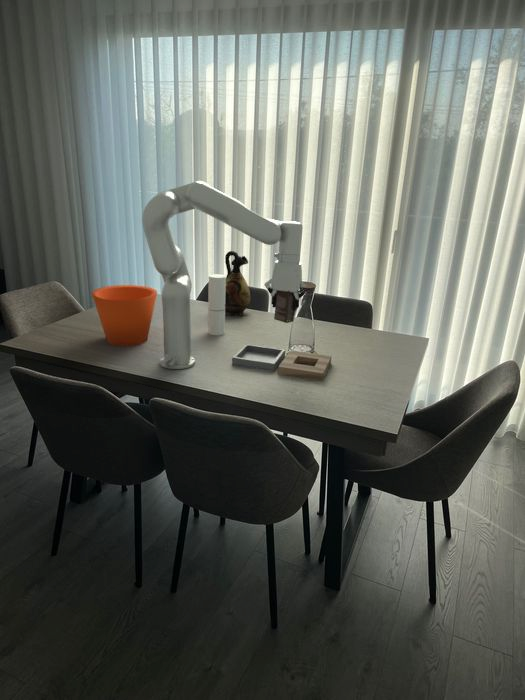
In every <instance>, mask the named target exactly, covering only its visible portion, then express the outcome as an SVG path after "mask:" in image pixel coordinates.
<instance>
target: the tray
mask: <svg viewBox="0 0 525 700" xmlns="http://www.w3.org/2000/svg"><path fill="white" fill-rule="evenodd" d="M285 357H286V349H283V348H276V347H269V346H264V345H263V346H261V345H255V344H248V343H246V344H244V346H242V347H241V348H240V349H239V350H238V351H237V352H236V353H235V354H234V355H233V356H232V357H231V365H232V366H236V367H241V368H242V367H243V368H248V369H255V370H263V371H266V372H267V371H269V372H275V371H276V369H278V366H279V365H280V364H281V362H282V361H283V360H284V358H285Z"/></svg>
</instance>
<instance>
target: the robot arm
mask: <svg viewBox="0 0 525 700" xmlns="http://www.w3.org/2000/svg"><path fill="white" fill-rule="evenodd" d="M195 209H196V210H198V211H199V212H202V213H203V214H206V215H207V216H209V217H211V218H214V219H216V220H218V221H220V222H222V223H223V224H225V225H227V226H228V227H231V228H232V229H235V230H237V231H239V232H241V233H242V234H244V235H247V236H248V237H251V238H253V239H254V240H256V241H258V242H260V243H263V244H264V245H268V246H272V245H275V244H277V243H278V244H279V245H278V252H277V253H276V252H275V253H274V255H273V256H274V258H276V259H277V260H275V263H274V265H273V270H272V276H271V278H270V279H269V280H268V281H265V283H264V287H265V289H267V292H268V293H269V294H270V296H271V305H272V308H275V304H276V292H277V291H284V292H288V291H290V292H292V293H294V295H295V299H294V306H293V310H294V311H296V310H297V309H299V308H300V307H299V306H300V298H303V296H305V295H306V294H307V293H308V292H305V293H301V292H300V290H301V289H300V286H301V288H302V287H306V286H307V285H306V284H305V283H304V282H303V270H302V269H303V267H302V263H301V262H300V259H301V250H302V237H303V228H304V227H303V224H302V222H298V221H292V220H291V221H290V220H289V221H288V220H285V221H282V220H281V221H280V220H276V219H273V218H272V219H271V218H266V217H263V216H262V215H260V214H259V213H257V212H255V211H253V210H252V209H249V208H248V207H246V205H244V203H242V202H241V201H239V200H237V199H236V198H234V197H233V196H230V195H228V194H226V193H223V192H222V191H220V190H218V189H216V188H214V187H212V186H210V185H209V184H208V183H207V182H205V181H203V180H196V181H193V182H191V183H188V184H187V183H186V184H185V185H181V186H178V187H174V188H171V189H168V190H164V191H162V192H159V193H157V194H156V195H154V196H153V197H152V198H151V199H150V200H149V201H148V202H147V203H146V205H145V207H144V209H143V212H142V214H141V215H142V217H141V223H142V229H143V233H144V236H145V239H146V243H147V245H148V249H149V252H150V255H151V259H152V262H153V267H155V270H156V271H157V272H158V273H159V274H160V275H161V276H162V280H163V283H164V284H163V287H162V290H161V302H162V303H161V305H162V319H163V320H162V322H163V357H161V358H160V359H159V365H160V366H161V367H163V368H166V369H171V370H183V369H184V370H185V369H189V368H192V367H193V366H194V365H195V364H196V359H195V358H194V357H193V356H191V352H192V350H191V349H192V348H191V347H192V346H191V345H192V344H191V339H192V338H191V335H192V334H191V331H192V330H191V329H192V328H191V324H192V323H191V293H192V287H193V286H192V279H191V276H190V274H189V270H188V266H187V263H186V260H185V258H184V255H183V252H182V250H181V248H179V247H178V246H177V245H176V243H175V242H174V239H173V234H172V232H171V229H170V226H169V221H170V220H171V219H172V218H173V217H174V216H175V215H179V214H182V213H186V212H188V211H191V210H195ZM297 290H298V291H299V292H297Z"/></svg>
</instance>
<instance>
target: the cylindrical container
mask: <svg viewBox="0 0 525 700" xmlns="http://www.w3.org/2000/svg"><path fill="white" fill-rule="evenodd" d="M226 276H227V275H225V274H220V273H219V274H218V273H217V274H216V273H213V274H208V287H207V288H208V299H207V300H208V301H207V303H208V304H207V305H208V306H207V307H208V308H207V309H208V312H207V317H208V318H207V321H208V322H207V333H208V334H209V335H212V336H222V335H225V332H226V331H225V330H226V329H225V328H226V327H225V326H226V325H225V324H226V313H225V288H226Z"/></svg>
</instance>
